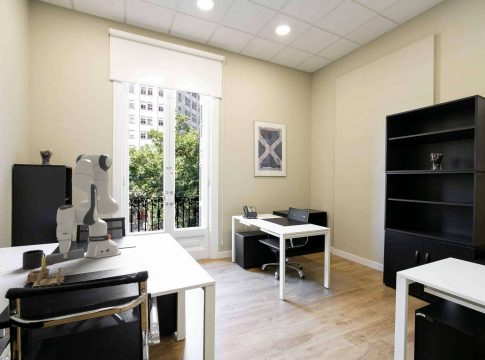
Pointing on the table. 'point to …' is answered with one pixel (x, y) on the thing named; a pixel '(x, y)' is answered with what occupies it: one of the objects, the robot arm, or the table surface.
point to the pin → (43, 263)
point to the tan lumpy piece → (33, 275)
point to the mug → (32, 259)
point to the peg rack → (48, 281)
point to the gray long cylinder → (59, 258)
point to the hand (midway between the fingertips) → (65, 256)
